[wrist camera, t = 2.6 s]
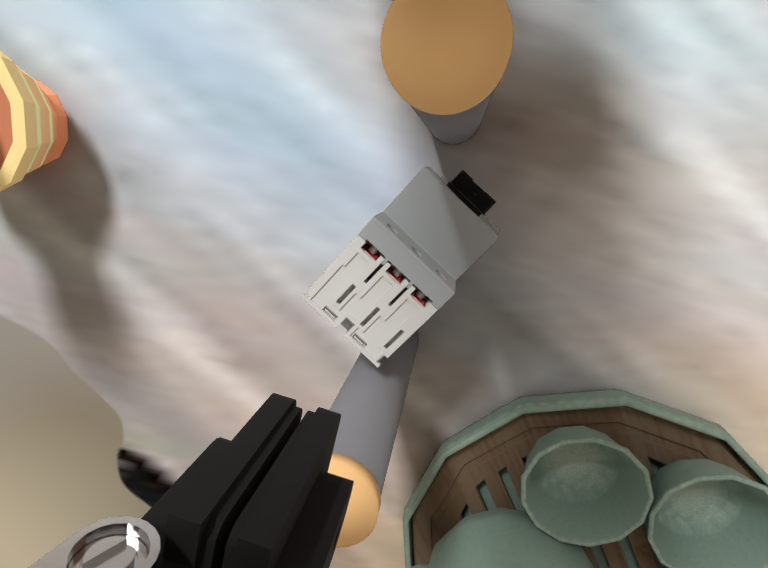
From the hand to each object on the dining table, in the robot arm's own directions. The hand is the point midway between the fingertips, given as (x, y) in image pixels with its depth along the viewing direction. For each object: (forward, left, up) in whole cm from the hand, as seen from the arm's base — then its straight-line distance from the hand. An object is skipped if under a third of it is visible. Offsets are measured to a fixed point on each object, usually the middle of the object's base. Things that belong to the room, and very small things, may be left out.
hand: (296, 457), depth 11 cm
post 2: (-12, 0, -36) cm, 38 cm away
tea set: (+29, +26, -37) cm, 53 cm away
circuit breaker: (0, 0, -36) cm, 36 cm away
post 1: (+11, 0, -36) cm, 38 cm away
